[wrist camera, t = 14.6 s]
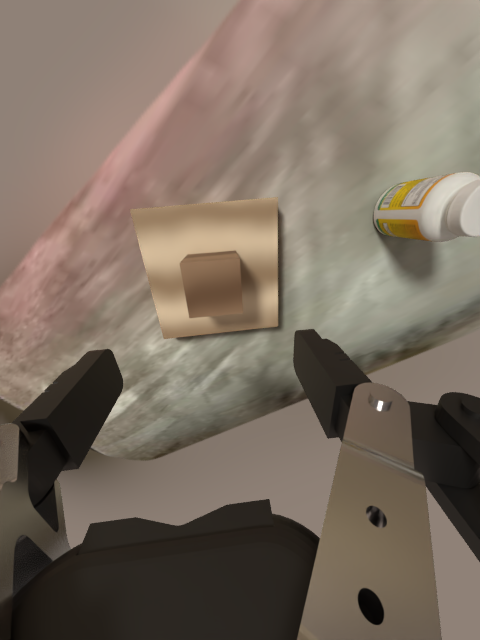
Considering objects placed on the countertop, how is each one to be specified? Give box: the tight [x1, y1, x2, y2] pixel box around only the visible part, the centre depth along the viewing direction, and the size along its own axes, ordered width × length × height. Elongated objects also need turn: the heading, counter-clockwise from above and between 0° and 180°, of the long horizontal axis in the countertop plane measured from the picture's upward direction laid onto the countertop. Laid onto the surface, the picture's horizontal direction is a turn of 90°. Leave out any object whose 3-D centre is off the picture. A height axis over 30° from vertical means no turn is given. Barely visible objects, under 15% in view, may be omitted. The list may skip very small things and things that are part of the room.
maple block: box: [130, 197, 278, 339], centre depth 25 cm, size 14×14×3 cm
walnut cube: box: [179, 251, 243, 318], centre depth 21 cm, size 5×5×5 cm
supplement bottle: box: [374, 172, 480, 242], centre depth 20 cm, size 5×5×10 cm
